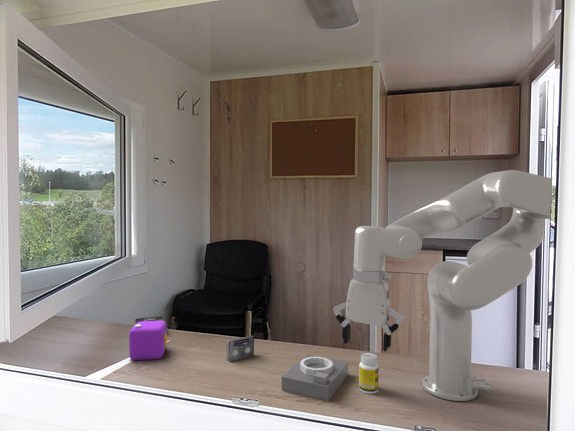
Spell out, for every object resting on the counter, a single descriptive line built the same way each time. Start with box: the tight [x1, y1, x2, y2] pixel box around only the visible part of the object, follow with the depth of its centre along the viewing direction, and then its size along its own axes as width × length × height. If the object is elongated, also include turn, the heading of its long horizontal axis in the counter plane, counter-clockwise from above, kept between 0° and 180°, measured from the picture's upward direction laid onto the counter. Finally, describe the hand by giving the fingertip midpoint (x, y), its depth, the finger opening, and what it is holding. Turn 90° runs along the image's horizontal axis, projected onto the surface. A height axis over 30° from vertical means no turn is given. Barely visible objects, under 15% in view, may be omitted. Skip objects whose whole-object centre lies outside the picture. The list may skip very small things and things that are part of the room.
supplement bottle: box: [358, 352, 380, 395], centre depth 96 cm, size 5×5×8 cm
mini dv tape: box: [226, 335, 255, 362], centre depth 115 cm, size 8×2×6 cm, turn 123°
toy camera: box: [128, 321, 169, 361], centre depth 118 cm, size 11×14×10 cm
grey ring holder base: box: [281, 353, 349, 402], centre depth 99 cm, size 12×16×5 cm
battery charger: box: [134, 315, 165, 325], centre depth 138 cm, size 13×10×4 cm
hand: (365, 345), depth 95 cm, fingers open, 9 cm apart
